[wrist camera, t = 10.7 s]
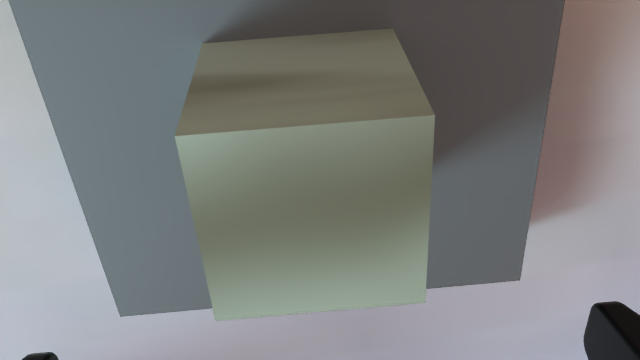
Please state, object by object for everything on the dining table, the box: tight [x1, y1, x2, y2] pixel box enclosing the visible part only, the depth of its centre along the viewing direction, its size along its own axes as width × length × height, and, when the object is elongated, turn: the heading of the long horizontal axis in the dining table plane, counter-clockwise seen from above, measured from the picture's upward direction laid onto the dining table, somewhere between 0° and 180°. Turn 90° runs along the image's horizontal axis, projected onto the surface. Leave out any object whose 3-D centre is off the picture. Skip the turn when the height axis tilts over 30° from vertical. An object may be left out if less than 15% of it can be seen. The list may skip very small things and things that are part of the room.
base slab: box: [9, 0, 565, 317], centre depth 18 cm, size 14×14×2 cm
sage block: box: [175, 28, 435, 321], centre depth 15 cm, size 5×5×5 cm
